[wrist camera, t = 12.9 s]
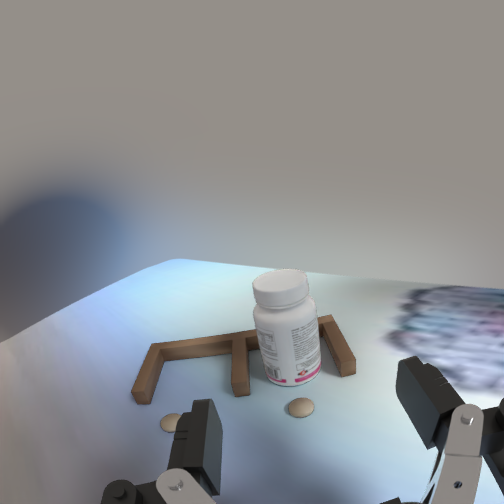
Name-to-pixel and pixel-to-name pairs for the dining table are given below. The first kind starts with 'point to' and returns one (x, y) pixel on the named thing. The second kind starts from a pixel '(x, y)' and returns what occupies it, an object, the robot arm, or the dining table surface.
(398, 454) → the dining table surface
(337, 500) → the dining table surface
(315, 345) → the pill bottle
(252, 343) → the slot rack
